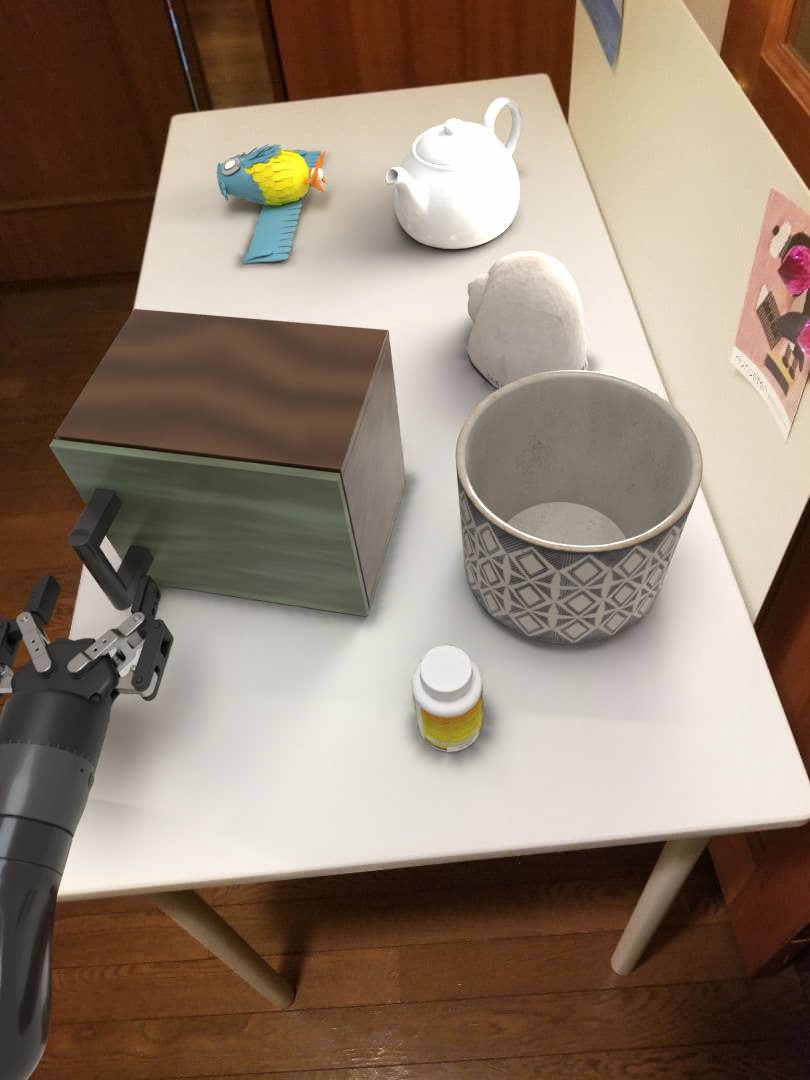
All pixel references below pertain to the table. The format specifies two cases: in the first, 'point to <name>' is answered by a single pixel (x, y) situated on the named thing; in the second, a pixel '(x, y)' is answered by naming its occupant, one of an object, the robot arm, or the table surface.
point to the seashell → (525, 319)
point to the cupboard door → (213, 527)
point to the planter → (573, 501)
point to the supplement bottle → (448, 698)
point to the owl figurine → (271, 193)
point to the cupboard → (257, 405)
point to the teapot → (458, 182)
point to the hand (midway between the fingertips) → (100, 580)
